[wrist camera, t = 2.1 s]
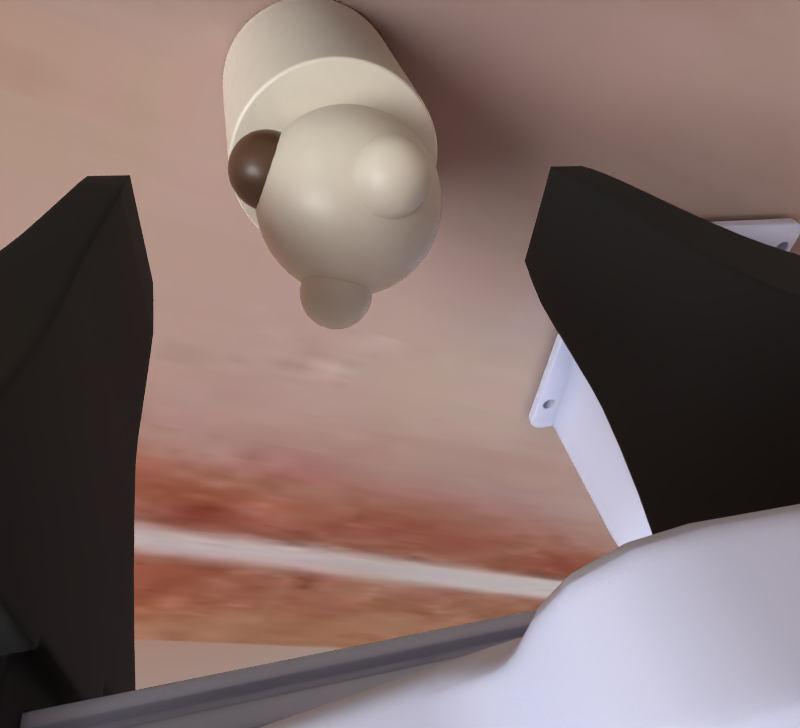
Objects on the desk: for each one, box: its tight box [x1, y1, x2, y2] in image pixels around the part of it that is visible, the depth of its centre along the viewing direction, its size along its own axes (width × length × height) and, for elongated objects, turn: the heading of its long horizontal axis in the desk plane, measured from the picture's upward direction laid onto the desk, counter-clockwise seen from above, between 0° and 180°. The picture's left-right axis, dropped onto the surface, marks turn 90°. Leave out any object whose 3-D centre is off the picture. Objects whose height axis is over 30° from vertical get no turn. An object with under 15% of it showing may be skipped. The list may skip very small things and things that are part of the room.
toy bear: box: [222, 0, 442, 329], centre depth 13 cm, size 4×4×7 cm
